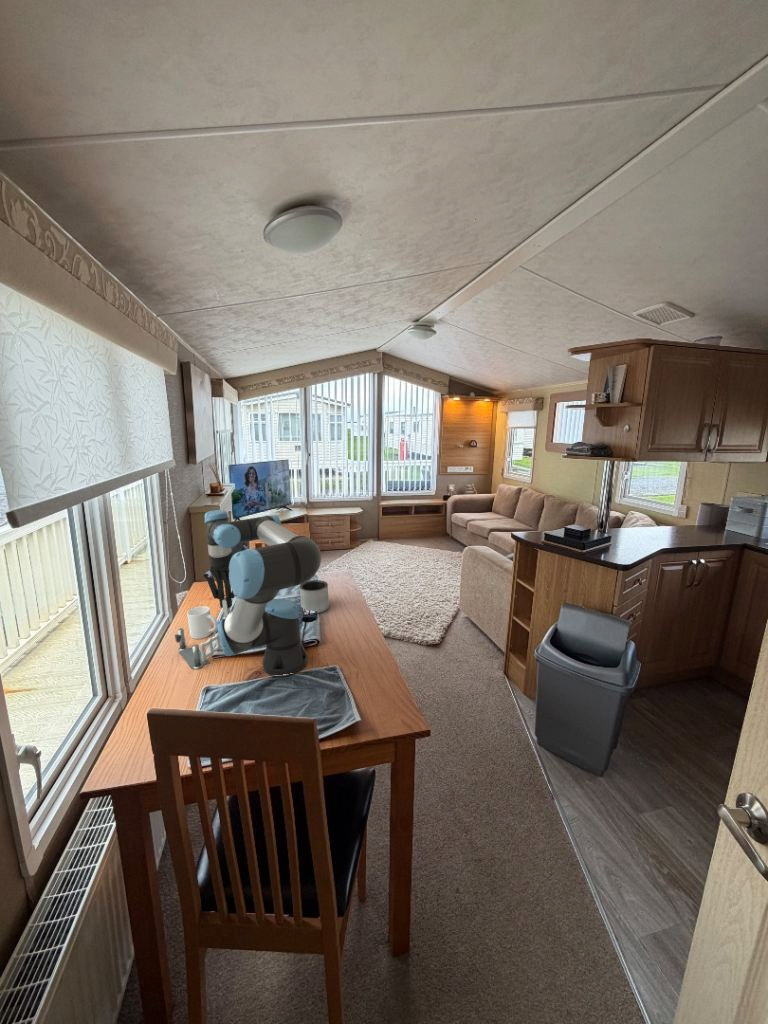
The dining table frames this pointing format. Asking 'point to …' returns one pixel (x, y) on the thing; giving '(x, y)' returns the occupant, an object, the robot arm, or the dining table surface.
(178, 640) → the gateposts
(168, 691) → the dining table surface
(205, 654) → the gate
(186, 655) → the grey flat plate
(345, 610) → the dining table surface
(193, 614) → the mug
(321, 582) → the planter
